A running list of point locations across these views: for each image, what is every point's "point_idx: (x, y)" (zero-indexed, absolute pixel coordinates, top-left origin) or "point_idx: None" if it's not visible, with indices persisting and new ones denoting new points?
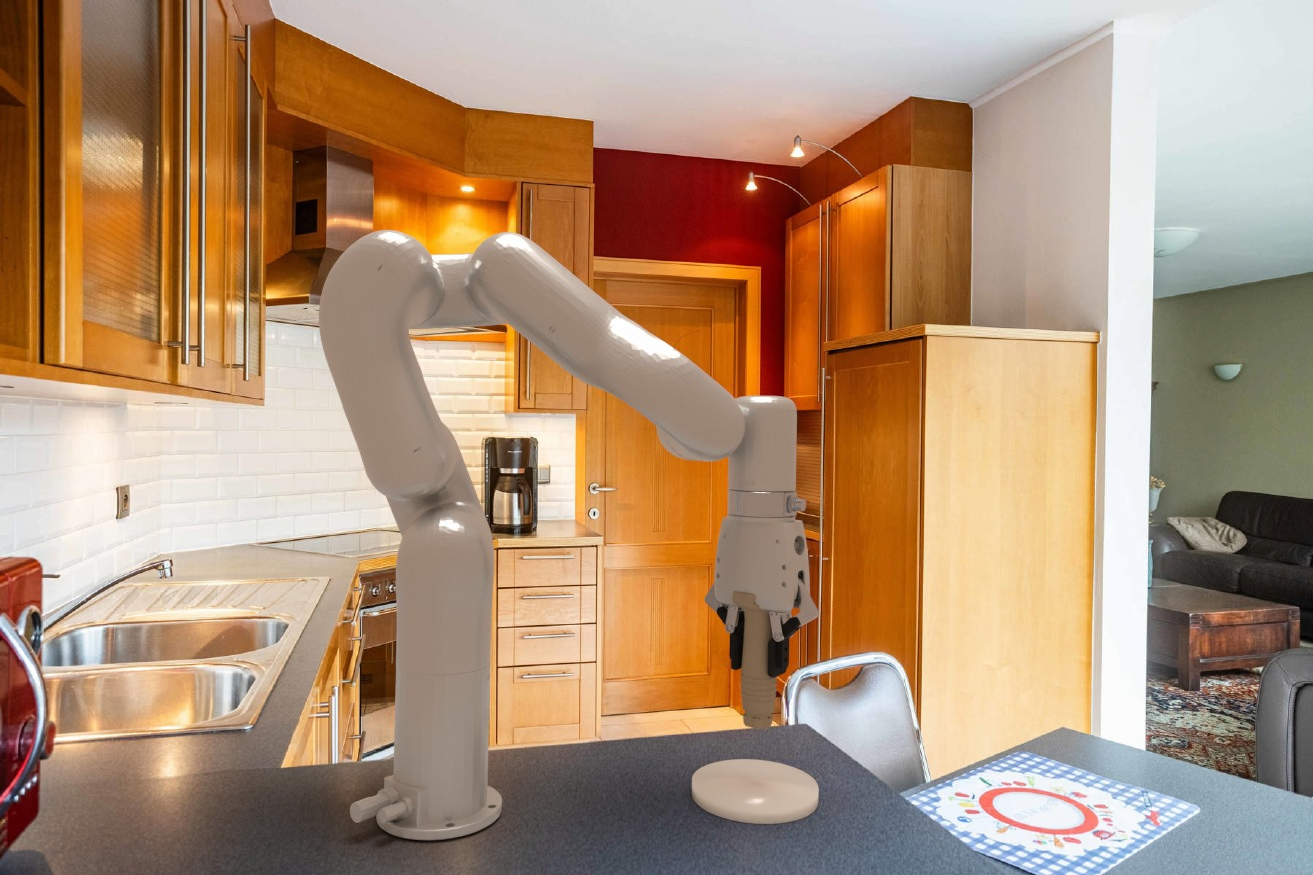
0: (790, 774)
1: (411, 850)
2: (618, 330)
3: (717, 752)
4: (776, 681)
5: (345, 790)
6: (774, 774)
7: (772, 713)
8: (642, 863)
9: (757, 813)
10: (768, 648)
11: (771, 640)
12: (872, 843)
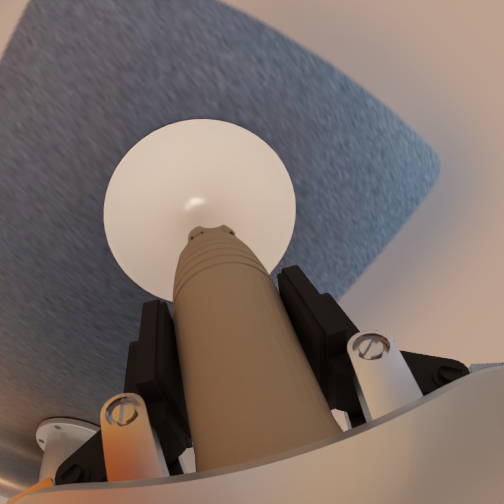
0: (216, 148)
1: None
2: None
3: (43, 139)
4: (263, 268)
5: (24, 454)
6: (199, 169)
7: (232, 232)
8: None
9: None
10: None
11: (332, 403)
12: (373, 204)
